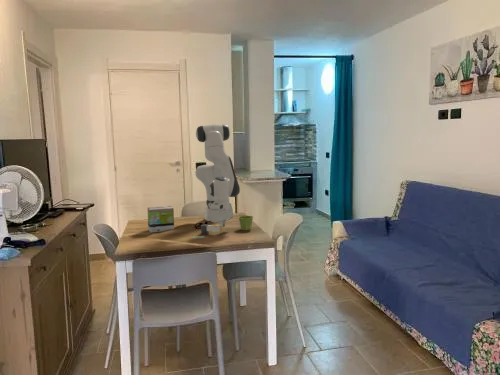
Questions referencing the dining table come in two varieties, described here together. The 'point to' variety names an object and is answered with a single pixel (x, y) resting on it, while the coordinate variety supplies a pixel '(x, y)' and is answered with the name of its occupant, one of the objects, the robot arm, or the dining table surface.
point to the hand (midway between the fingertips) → (222, 227)
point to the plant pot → (245, 222)
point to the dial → (201, 237)
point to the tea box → (160, 218)
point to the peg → (210, 229)
